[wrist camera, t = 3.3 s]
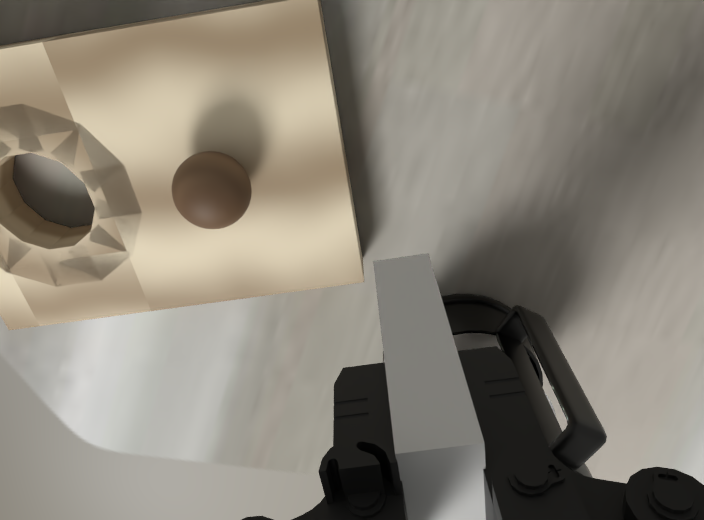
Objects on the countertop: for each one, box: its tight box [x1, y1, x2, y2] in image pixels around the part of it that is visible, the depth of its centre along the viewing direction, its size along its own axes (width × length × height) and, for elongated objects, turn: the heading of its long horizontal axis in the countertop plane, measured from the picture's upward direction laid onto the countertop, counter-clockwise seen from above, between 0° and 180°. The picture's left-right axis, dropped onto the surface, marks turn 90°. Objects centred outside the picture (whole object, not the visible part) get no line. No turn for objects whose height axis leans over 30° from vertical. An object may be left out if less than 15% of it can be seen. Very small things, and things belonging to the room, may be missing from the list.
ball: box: [172, 151, 252, 229], centre depth 25 cm, size 4×4×4 cm
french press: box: [383, 294, 607, 478], centre depth 25 cm, size 12×9×23 cm
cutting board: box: [0, 0, 364, 330], centre depth 28 cm, size 14×20×2 cm
